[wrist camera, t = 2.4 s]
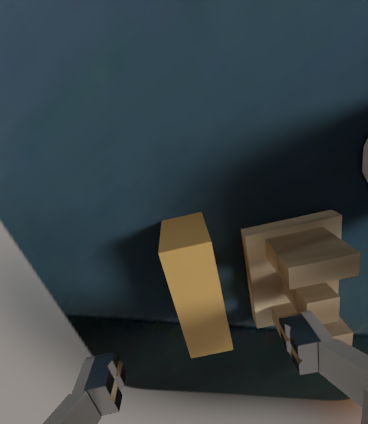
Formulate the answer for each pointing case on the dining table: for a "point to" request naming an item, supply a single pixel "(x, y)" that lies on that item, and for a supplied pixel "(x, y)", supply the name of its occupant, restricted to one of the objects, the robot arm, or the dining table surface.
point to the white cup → (365, 160)
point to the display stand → (299, 270)
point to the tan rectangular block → (194, 284)
